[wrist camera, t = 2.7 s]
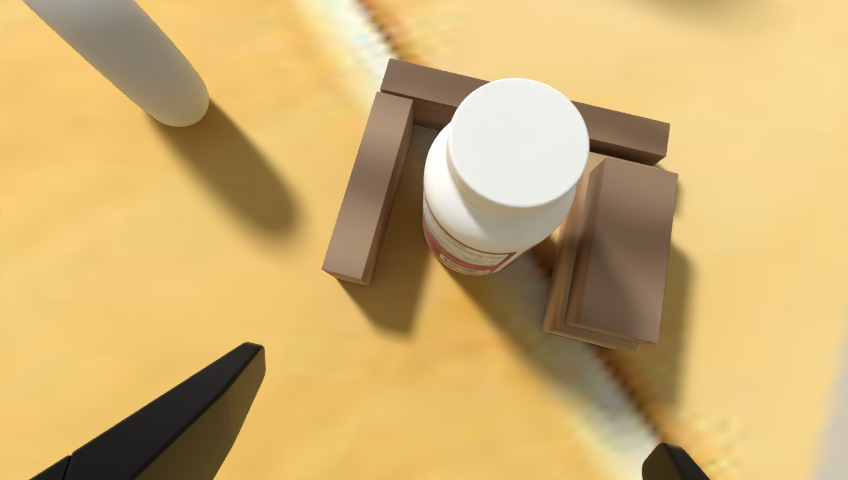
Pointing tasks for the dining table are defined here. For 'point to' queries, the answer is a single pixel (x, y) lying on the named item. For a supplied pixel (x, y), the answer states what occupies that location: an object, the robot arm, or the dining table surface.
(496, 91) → the pill bottle
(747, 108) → the dining table surface
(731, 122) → the dining table surface
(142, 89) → the grey rounded piece
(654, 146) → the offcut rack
